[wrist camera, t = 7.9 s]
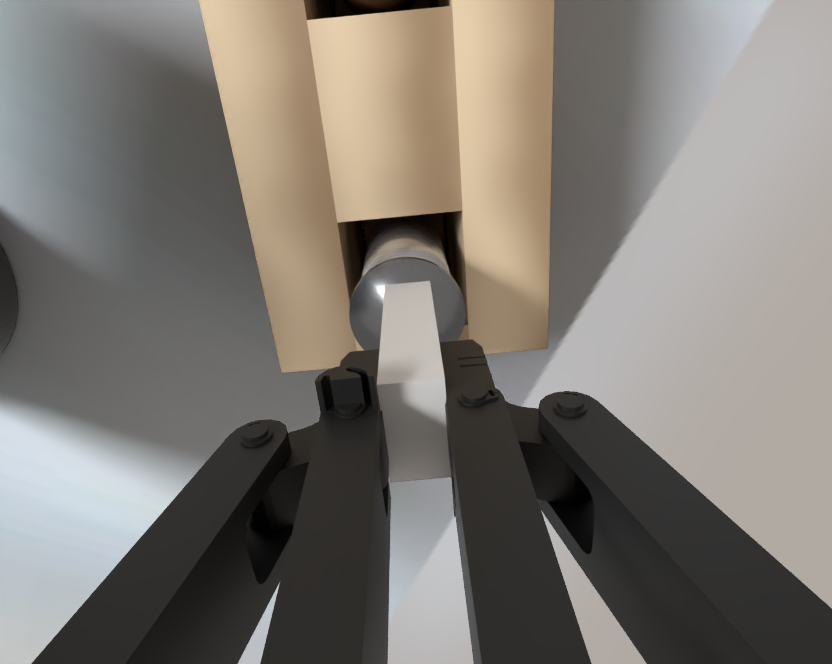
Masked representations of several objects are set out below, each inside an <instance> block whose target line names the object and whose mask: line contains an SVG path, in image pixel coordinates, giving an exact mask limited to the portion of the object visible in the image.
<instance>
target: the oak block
mask: <svg viewBox="0 0 832 664" xmlns="http://www.w3.org/2000/svg"><path fill="white" fill-rule="evenodd" d="M199 3H200V8H201V12H202V17H203V21H204V26H205V31H206V35H207V40H208V44H209V49H210V53H211V58H212V62H213V67H214V71H215V76H216V80H217V85H218V89H219V94H220V98H221V103H222V107H223V112H224V116H225V121H226V125H227V130H228V134H229V139H230V143H231V148H232V152H233V157H234V161H235V166H236V170H237V175H238V179H239V184H240V188H241V193H242V197H243V202H244V206H245V211H246V215H247V220H248V224H249V229H250V233H251V238H252V242H253V247H254V251H255V256H256V260H257V265H258V269H259V274H260V278H261V283H262V287H263V292H264V296H265V301H266V305H267V310H268V314H269V319H270V323H271V328H272V332H273V337H274V341H275V346H276V350H277V355H278V359H279V364H280V368H281V373H287V372H297V371H308V370H319V369H330V368H334V367H338V366H340V362H341V360H342V359H343V358H344V357H345V356H346V355H347V354H348V353H349V352H352V351H363V350H364V349H363V348H362V347H361V346H360V345H359V343H358V342H357V340H356V339H355V337H354V335H353V332H352V329H351V326H350V320H349V308H350V303H351V298H352V295H353V292H354V289H355V288H356V286H357V284H358V282H359V281H360V280H361V277H362V272H363V267H364V262H365V249H364V242H363V234H362V226H361V220H363V222H364V230H365V238H366V246H368V241H369V236H370V233H371V230H372V229H373V227H374V225H375V224H376V222H377V221H378V220H379V219H380V218H390V217H401V216H411V215H422V214H423V215H425V216H426V217H428V218H429V219H430V220H431V221H432V222H433V224H434V225H435V227H436V228H437V230H438V233H439V236H440V239H441V243H442V247H443V250H444V254H445V257H446V252H445V237H444V222H443V212H446V226H447V241H448V257H449V258H447V259H446V261H447V264H448V268H449V272H450V275H451V276H452V277H453V279H454V280H455V281H456V283H457V285H458V286H459V288H460V291H461V293H462V296H463V300H464V303H465V311H466V313H465V324H464V328H463V331H462V333H461V335H460V338H459V339H458V341H459V340H470V339H473V340H474V341H475V342H477V343H478V344H479V345H481V346H482V348H483V351H484V354H493V353H504V352H515V351H525V350H536V349H547V348H548V312H549V259H550V206H551V152H552V99H553V45H554V0H432V7H433V8H429V0H416V1H415V3H414V4H413V6H412V7H411V8H410V10H405V11H395V12H385V13H374V14H364V15H356V14H354V13H353V12H352V11H351V10H350V9H349V7H348V6H347V5H346V3H345V2H344V0H335V7H336V15H337V17H334V14H333V7H332V0H199Z"/></svg>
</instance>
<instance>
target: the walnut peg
mask: <svg viewBox="0 0 832 664" xmlns="http://www.w3.org/2000/svg"><path fill="white" fill-rule="evenodd" d="M415 1H416V0H344V2H345V3H346V5H347V6H348V7H349V9H350V10H351V11H352V12H353V13H354V14H356V15H364V14H374V13H385V12H395V11H405V10H410V8H411V7H412V6H413V4H414V3H415Z"/></svg>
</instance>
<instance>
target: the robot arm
mask: <svg viewBox="0 0 832 664" xmlns="http://www.w3.org/2000/svg"><path fill="white" fill-rule="evenodd" d="M16 317H17V293H16V286H15V282H14V278H13V274H12V271H11V268H10V265H9V263H8V260H7V258H6V256H5V254H4V252H3V250H2V248H1V246H0V354H1V353H2V351H3V350H4V349H5V347H6V345H7V344H8V342H9V340H10V338H11V336H12V333H13V330H14V327H15V323H16ZM315 385H316V390H317V395H318V400H319V405H320V410H321V415H320V419H319V422H317V423H315V424H313V425H312V426H309V427H306V428H304V429H300V430H297V431H293V432H290V433H288V432H287V429H286V426H285V425H284V424H283V423H281V422H280V421H275V420H258V421H255V422H250V423H248V424H246V425H244V426H242V427H240V428H238V429H236V430H235V431H234V432H233V433H232V434H230V435H229V436H228V438H227V439H226V440H225V441H224V442H223V443H222V444H221V446H220V447H219V448H218V449H217V450H216V451H215V453H214V454H213V455H212V456H211V457H210V458H209V459H208V461H207V462H206V463H205V464H204V465H203V466H202V468H201V469H200V470H199V471H198V472H197V473H196V474H195V476H194V477H193V478H192V479H191V480H190V481H189V483H188V484H187V485H186V486H185V487H184V488H183V489H182V491H181V492H180V493H179V494H178V495H177V496H176V498H175V499H174V500H173V501H172V502H171V503H170V504H169V506H168V507H167V508H166V509H165V510H164V511H163V513H162V514H161V515H160V516H159V517H158V518H157V519H156V521H155V522H154V523H153V524H152V525H151V526H150V528H149V529H148V530H147V531H146V532H145V533H144V534H143V536H142V537H141V538H140V539H139V540H138V541H137V543H136V544H135V545H134V546H133V547H132V548H131V549H130V551H129V552H128V553H127V554H126V555H125V556H124V558H123V559H122V560H121V561H120V562H119V563H118V564H117V566H116V567H115V568H114V569H113V570H112V571H111V573H110V574H109V575H108V576H107V577H106V578H105V579H104V581H103V582H102V583H101V584H100V585H99V586H98V588H97V589H96V590H95V591H94V592H93V593H92V594H91V596H90V597H89V598H88V599H87V600H86V601H85V603H84V604H83V605H82V606H81V607H80V608H79V609H78V611H77V612H76V613H75V614H74V615H73V616H72V618H71V619H70V620H69V621H68V622H67V623H66V624H65V626H64V627H63V628H62V629H61V630H60V631H59V633H58V634H57V635H56V636H55V637H54V638H53V639H52V641H51V642H50V643H49V644H48V645H47V646H46V648H45V649H44V650H43V651H42V652H41V653H40V654H39V656H38V657H37V658H36V659H35V660H34V661H33V663H32V664H237V663H238V661H239V660H240V658H241V656H242V654H243V652H244V650H245V648H246V646H247V644H248V642H249V640H250V638H251V636H252V634H253V632H254V631H255V629H256V627H257V625H258V623H259V621H260V619H261V617H262V615H263V613H264V611H265V609H266V607H267V605H268V603H269V602H270V600H271V598H272V596H273V594H274V592H275V590H276V588H277V586H278V584H279V582H280V585H279V589H278V593H277V597H276V601H275V605H274V610H273V614H272V618H271V622H270V626H269V630H268V635H267V639H266V643H265V647H264V651H263V655H262V659H261V664H387V659H388V656H387V655H388V609H389V559H390V509H391V495H390V488H389V481H388V477H389V478H390V482H399V481H410V480H422V479H433V478H445V477H452V491H453V504H454V516H456V523H457V531H458V539H459V547H460V555H461V564H462V572H463V580H464V588H465V596H466V604H467V612H468V620H469V628H470V635H471V644H472V652H473V660H474V664H591V661H590V658H589V655H588V652H587V649H586V646H585V643H584V640H583V637H582V634H581V631H580V628H579V625H578V622H577V618H576V616H575V612H574V609H573V606H572V603H571V600H570V597H569V594H568V591H567V588H566V585H565V582H564V579H563V576H562V573H561V570H560V567H559V564H558V561H557V557H556V554H555V552H554V548H553V546H552V542H551V539H550V536H549V533H548V530H547V527H546V525H545V521H544V518H543V515H542V512H543V513H544V514H545V516H546V517H547V519H548V521H549V522H550V523H551V525H552V526H553V528H554V529H555V531H556V532H557V534H558V535H559V536H560V538H561V539H562V541H563V542H564V544H565V545H566V546H567V548H568V550H569V551H570V552H571V554H572V555H573V557H574V558H575V560H576V561H577V563H578V564H579V566H580V567H581V568H582V570H583V571H584V573H585V574H586V576H587V577H588V579H589V580H590V582H591V583H592V584H593V586H594V587H595V589H596V590H597V592H598V593H599V594H600V596H601V598H602V599H603V600H604V602H605V603H606V605H607V606H608V608H609V609H610V611H611V612H612V613H613V615H614V616H615V618H616V619H617V621H618V622H619V624H620V625H621V627H622V628H623V630H624V631H625V632H626V634H627V635H628V637H629V638H630V640H631V641H632V643H633V644H634V646H635V647H636V648H637V650H638V651H639V653H640V654H641V656H642V657H643V659H644V660H645V661H646V663H647V664H832V609H831V608H830V607H829V606H828V605H827V604H826V603H825V602H823V601H822V600H821V599H820V598H819V597H818V596H817V595H816V594H814V593H813V592H812V591H811V590H810V589H809V588H808V587H807V586H806V585H804V584H803V583H802V582H801V581H800V580H799V579H798V578H796V577H795V576H794V575H793V574H792V573H791V572H790V571H789V570H787V569H786V568H785V567H784V566H783V565H782V564H781V563H780V562H778V561H777V560H776V559H775V558H774V557H773V556H772V555H771V554H769V553H768V552H767V551H766V550H765V549H764V548H762V546H760V545H759V544H758V543H757V542H756V541H755V540H754V539H753V538H751V537H750V536H749V535H748V534H747V533H746V532H745V531H743V530H742V529H741V528H740V527H739V526H738V525H737V524H736V523H734V522H733V521H732V520H731V519H730V518H729V517H728V516H727V515H725V514H724V513H723V512H722V511H721V510H720V509H719V508H718V507H716V506H715V505H714V504H713V503H712V502H711V501H710V500H708V499H707V498H706V497H705V496H704V495H703V494H702V493H701V492H700V491H698V490H697V489H696V488H695V487H694V486H693V485H692V484H690V483H689V482H688V481H687V480H686V479H685V478H684V477H683V476H682V475H680V474H679V473H678V472H677V471H676V470H675V469H674V468H672V467H671V466H670V465H669V464H668V463H667V462H666V461H665V460H663V459H662V458H661V457H660V456H659V455H658V454H657V453H656V452H654V451H653V450H652V449H651V448H650V447H649V446H648V445H647V444H645V443H644V442H643V441H642V440H641V439H640V438H639V437H637V436H636V435H635V434H634V433H633V432H632V431H631V430H630V429H628V428H627V427H626V426H625V425H624V424H623V423H622V422H621V421H619V420H618V419H617V418H616V417H615V416H614V415H613V414H612V413H610V412H609V411H608V410H607V409H606V408H605V407H604V406H603V405H601V404H600V403H599V402H598V401H597V400H595V399H593V398H592V397H590V396H588V395H584V394H582V393H578V392H570V391H564V392H556V393H553V394H550V395H547V396H545V397H544V398H543V399H542V400H541V401H540V404H539V409H536V408H526V407H520V406H516V405H513V404H510V403H508V402H506V401H505V399H504V396H503V395H502V393H501V392H500V391H499V390H498V389H496V388H495V386H494V383H493V380H492V376H491V373H490V370H489V367H488V365H487V361H486V357H485V354H484V351H483V348H482V346H481V345H479V344H478V343H477V342H475V341H474V340H473V339H470V340H459V341H448V342H439V337H438V330H437V324H436V317H435V311H434V304H433V298H432V291H431V284H430V281H422V282H411V283H400V284H389V285H385V289H384V301H383V314H382V326H381V338H380V349H374V350H363V351H352V352H349V353H348V354H347V355H346V356H345V357H344V358H343V359H342V360H341V362H340V366H338V367H334V368H332V369H329V370H326V371H325V372H323V373H322V374H321V375H319V376H318V378H317V379H316V381H315ZM537 499H538V500H537ZM541 510H542V512H541ZM280 580H281V581H280Z"/></svg>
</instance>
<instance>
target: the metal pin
mask: <svg viewBox="0 0 832 664" xmlns="http://www.w3.org/2000/svg"><path fill="white" fill-rule="evenodd" d="M422 281H430V284H431V291H432V298H433V304H434V311H435V317H436V324H437V330H438V337H439V342H448V341H458V339H459V338H460V335H461V333H462V331H463V328H464V324H465V313H466V311H465V303H464V300H463V296H462V293H461V291H460V288H459V286H458V285H457V283H456V281H455V280H454V279H453V277H452V276H451V275H450V272H449V268H448V264H447V261H446V257H445V254H444V250H443V247H442V243H441V239H440V236H439V233H438V230H437V228H436V227H435V225H434V224H433V222H432V221H431V220H430V219H429V218H428V217H426V216H425V215H423V214H422V215H411V216H401V217H390V218H380V219H379V220H378V221H377V222H376V224H375V225H374V227H373V229H372V230H371V233H370V236H369V241H368V246H367V251H366V256H365V262H364V267H363V272H362V277H361V280H360V281H359V282H358V284H357V286H356V288H355V289H354V292H353V295H352V298H351V303H350V308H349V320H350V326H351V329H352V332H353V335H354V337H355V339H356V340H357V342H358V343H359V345H360V346H361V347H362V348H363V349H364V350H374V349H380V338H381V326H382V314H383V301H384V289H385V285H389V284H400V283H411V282H422Z"/></svg>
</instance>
